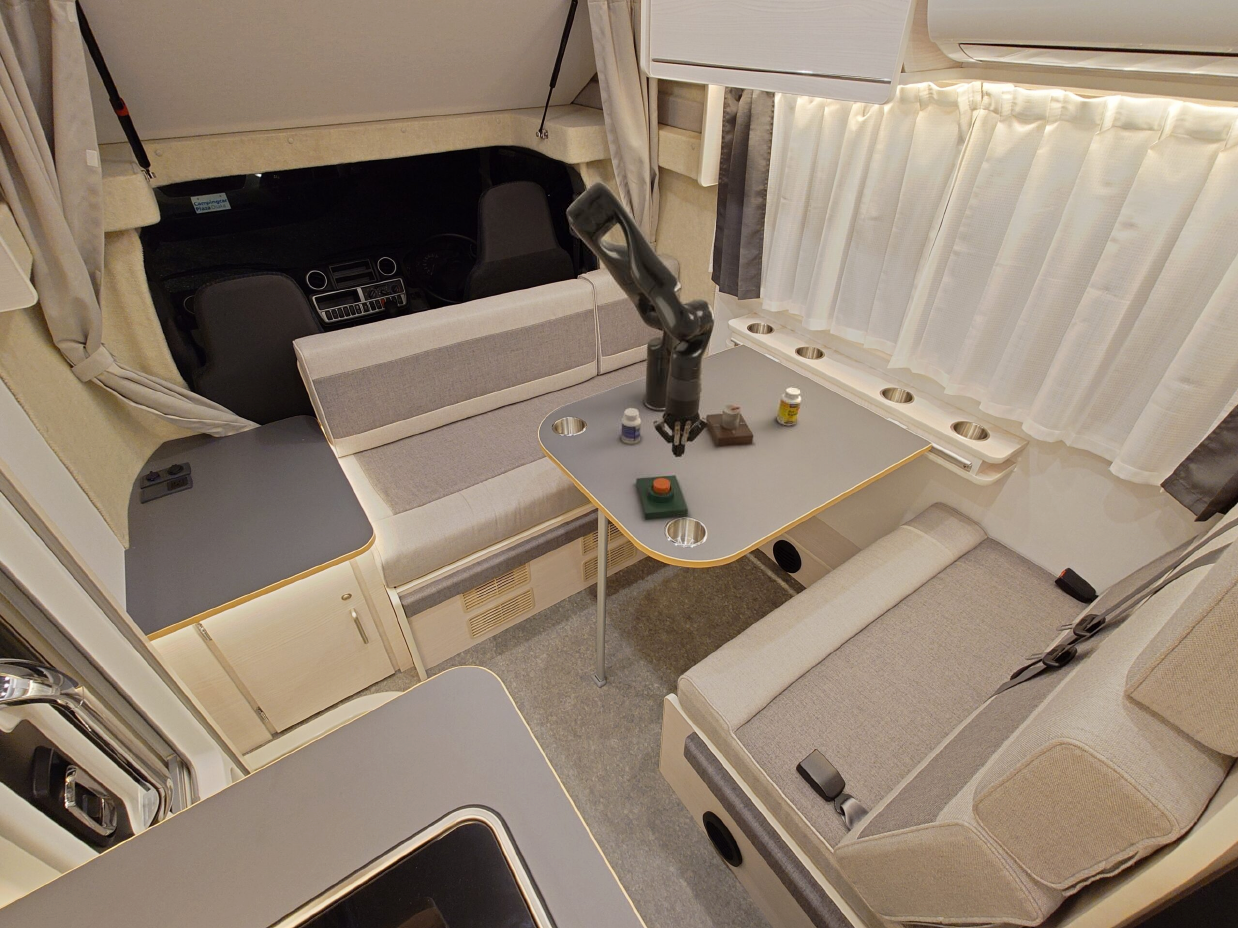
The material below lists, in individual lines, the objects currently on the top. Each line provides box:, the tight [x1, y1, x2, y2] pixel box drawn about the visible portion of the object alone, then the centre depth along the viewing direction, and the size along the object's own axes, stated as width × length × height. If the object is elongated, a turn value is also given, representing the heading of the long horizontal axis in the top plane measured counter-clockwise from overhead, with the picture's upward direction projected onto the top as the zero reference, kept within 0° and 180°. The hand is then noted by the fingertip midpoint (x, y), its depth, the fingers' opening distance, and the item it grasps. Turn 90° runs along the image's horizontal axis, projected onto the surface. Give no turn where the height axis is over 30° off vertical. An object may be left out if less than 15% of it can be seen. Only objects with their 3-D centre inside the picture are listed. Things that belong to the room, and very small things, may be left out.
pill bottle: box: [620, 407, 642, 445], centre depth 154 cm, size 5×5×9 cm
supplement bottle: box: [776, 387, 802, 426], centre depth 162 cm, size 6×6×10 cm
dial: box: [721, 404, 741, 429], centre depth 156 cm, size 5×5×5 cm
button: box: [653, 478, 670, 494], centre depth 133 cm, size 4×4×2 cm
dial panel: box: [705, 413, 754, 448], centre depth 158 cm, size 12×10×3 cm
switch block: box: [635, 474, 689, 521], centre depth 135 cm, size 13×10×4 cm
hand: (677, 455), depth 134 cm, fingers closed
